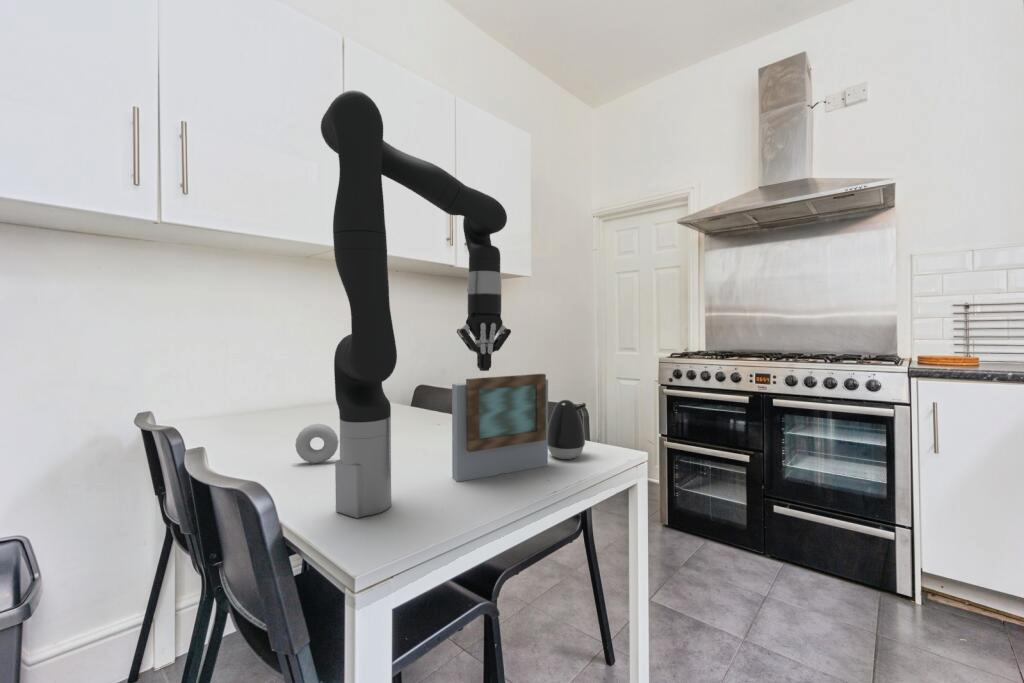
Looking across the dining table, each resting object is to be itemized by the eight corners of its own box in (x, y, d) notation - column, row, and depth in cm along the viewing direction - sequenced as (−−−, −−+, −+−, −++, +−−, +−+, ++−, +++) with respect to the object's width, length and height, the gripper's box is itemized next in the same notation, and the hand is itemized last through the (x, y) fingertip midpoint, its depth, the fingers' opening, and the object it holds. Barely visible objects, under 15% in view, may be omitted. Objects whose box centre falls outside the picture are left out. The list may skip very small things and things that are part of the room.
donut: (294, 466, 108) (293, 426, 108) (297, 462, 112) (296, 423, 111) (337, 463, 111) (337, 424, 110) (339, 459, 114) (339, 421, 114)
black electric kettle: (588, 462, 112) (589, 403, 112) (547, 462, 112) (548, 403, 112) (582, 451, 122) (582, 396, 122) (544, 451, 122) (545, 396, 122)
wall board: (457, 481, 98) (457, 385, 97) (452, 477, 101) (452, 383, 100) (547, 465, 110) (548, 379, 109) (541, 462, 112) (541, 378, 112)
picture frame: (469, 452, 97) (468, 379, 96) (466, 450, 98) (466, 378, 98) (545, 440, 107) (545, 374, 106) (542, 438, 108) (542, 373, 107)
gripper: (463, 290, 92) (463, 373, 93) (518, 293, 98) (518, 370, 99) (450, 293, 99) (450, 370, 99) (502, 295, 105) (502, 368, 106)
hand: (484, 370), depth 99 cm, fingers closed
